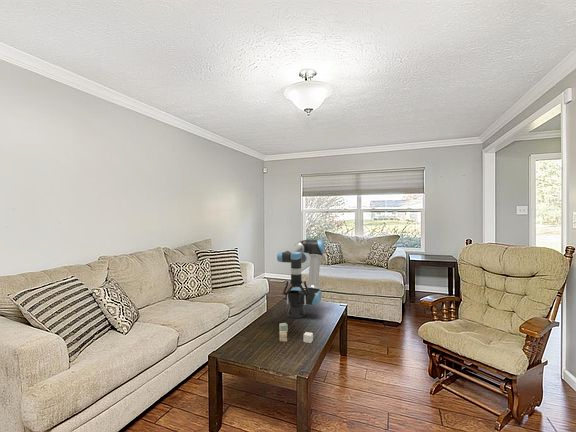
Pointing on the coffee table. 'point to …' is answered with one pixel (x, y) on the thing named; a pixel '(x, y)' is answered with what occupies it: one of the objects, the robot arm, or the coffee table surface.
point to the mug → (294, 297)
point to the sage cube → (283, 327)
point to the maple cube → (283, 336)
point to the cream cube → (308, 337)
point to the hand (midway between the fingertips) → (296, 304)
